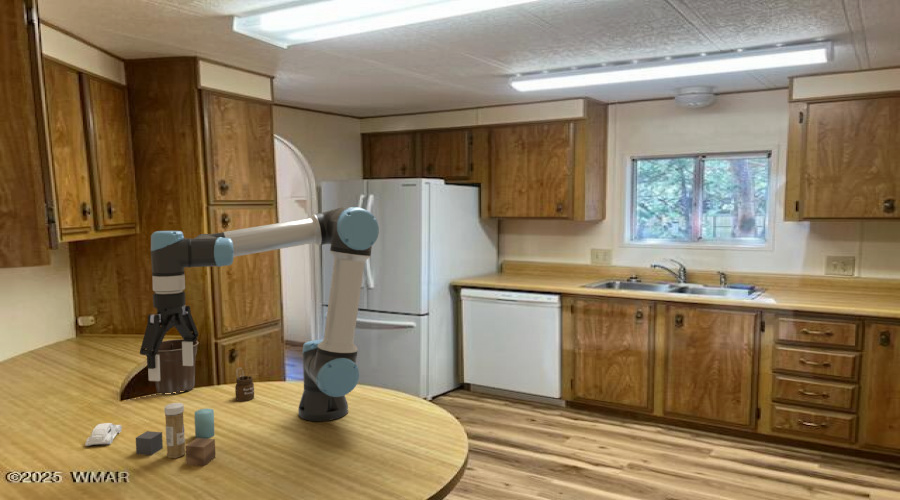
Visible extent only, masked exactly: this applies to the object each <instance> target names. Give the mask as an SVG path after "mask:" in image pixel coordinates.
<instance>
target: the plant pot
mask: <svg viewBox="0 0 900 500" xmlns="http://www.w3.org/2000/svg"><path fill="white" fill-rule="evenodd" d="M183 341H185V340H184V339H183V338H180V339H178V338H177V339H176V338H175V339H168V340H163V341H162V343H161V345H160V348H159V350H158V352H157V354H156V355H159V357H160V381H154V382H155V384H154V385H155V388H156V389H155V390H156V393H157V394H161V395H164V394H165V393H171V394H173V395H176V394H175V393H173V392H176V393H179V394H182V393H181V392H180V391H184V392H183V393H185V392H186V391H187V390H189V391H191V390H193V389H194V388H195V384H196V383H195V382H196V378H195V376H196V357H197V356H196V355H197V353H198V346H199V341H198V340H197V341H193V366H183V358H182V342H183ZM185 390H186V391H185Z"/></svg>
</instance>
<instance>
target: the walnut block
mask: <svg viewBox="0 0 900 500" xmlns="http://www.w3.org/2000/svg"><path fill="white" fill-rule="evenodd" d="M215 440H216V439H215V438H214V439H213V438H208V439H204V438H196V437H195V439H193V440H192V441H191V442H188V443H187V444H186V445H185V452H186V453H185V464H186V465H188V466H196V467H199V466H200V467H205V466H207V465H208V464H209V463H210V462H212V461H213V460H214V459H216V441H215Z"/></svg>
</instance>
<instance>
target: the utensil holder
mask: <svg viewBox="0 0 900 500" xmlns="http://www.w3.org/2000/svg"><path fill="white" fill-rule="evenodd" d="M240 369H241V370H240ZM238 370H239V371H242V373H244V370H243V368H242V367H239V368H238V369H236V370H235V371H236V373H235V374H236V375H237V378H236V380H235V382H236V384H235V386H234V387H235V388H234V389H235V400H237V402H238V401H239V402H247V401H251V400H252V399H254V397H255V385H254V382H253V377H252V375H251V376H250V372H251V371H252V370H253V361H251V360H249V361H248V363H247V369H246V370H247V371H248V373H247V375H241V373H239V372H238ZM239 374H240V376H239Z"/></svg>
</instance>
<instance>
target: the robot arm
mask: <svg viewBox="0 0 900 500" xmlns="http://www.w3.org/2000/svg"><path fill="white" fill-rule="evenodd" d="M379 234H380V228H379V223H378V220H377V219H376V217H375V216H374V215H373V213H371V212H370V211H369V210H367V209H364V208H362V207H358V206H357V207H356V206H352V207H351V206H340V207H337V208H335V209H331V210H328V211H323V212H319V213H313V214H312V215H311V216H310V217H309V218H301V219H296V220H290V221H285V222H284V221H282V222H278V223H273V224H272V223H270V224H266V225H265V224H264V225H260V226H253V227H246V228H239V229H234V230H229V231H223V232H222V231H221V232H215V233H210V234H209V233H204V234H203V233H202V234H199V235H198V236H196V237H194V238H187V237H185V236H184V233H183V231H181V230H157V231H154V232H152V234H150V258H151V273H152V274H151V275H152V278H151V279H152V291H153V294H152V306H153V307H154V308H155V309H156V314H148V315H147V324H146V328H145V331H144V335H143V338H142V341H141V342H142V343H141V346H140V350H139V355H142V356H146V362H147V363H146V364H147V365H146V366H147V367H146V368H147V369H148V371H147V372H148V377H147V378H148V381H149V382H155V381H160V357H159V355H156V354H157V352H158V350H159V348H160V345H161V343H162V341H164V338H165V336H166V334H167V333H168V332H169V331H170V330H171V329H173V328H175V329H176V330H177V332H178V333H179V335H180V337H182V338H181V339H184V340H185V341H183V342H182V358H183V366H193V341H198V337H199V332H198V329H197V326H196V324H195V320H194V319H193V316H192V313H191V306H190V305H186V292H185V291H184V290H185V289H186V278H185V275H186V274H185V268H200V267H201V268H204V267H208V268H209V267H219V268H221V267H225V266H231V265H232V264H233V263H234V258H237V257H241V256H246V255H253V254H257V253H264V252H270V251H276V250H280V249H287V248H292V247H298V246H305V245H310V244H316V245H317V246H323V245H330V250H329V252H330V253H331V255H332V256H333V257H334V260H333V266H332V274H331V281H330V282H331V283H330V289H329V297H328V306H327V313H326V320H325V326H324V335H323V338H322V339H315V340H310V341H309V340H308V341H306V342H305V343H303V345H302V352H301V354H302V366H303V367H302V369H303V370H302V371H303V391H302V395H301V398H300V401H299V405H298V409H297V410H298V411H297V412H298V416H299V417H300V418H301V419H302V420H305V421H309V422H310V421H311V422H327V421H333V420H337V419H340V418H342V417H344V416H345V415H347V414H348V412H349V404H348V400H347V397H346V396H347V395H348V394H349V393H351V392H352V391H353V390H354V389H355V388H356V387H357V385H358V383H359V380H360V369H359V366H358V365H357V358H358V350H359V349H358V347H357V346H356V344H355V343H354V342H355V334H356V326H357V318H358V313H359V304H360V298H361V289H362V283H363V277H364V276H363V275H364V267H365V262H366V261H367V260H368V259H370V258H371V255H372V248H373V246H374V244H375V243H376V241H377V240H378V237H379Z"/></svg>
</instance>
